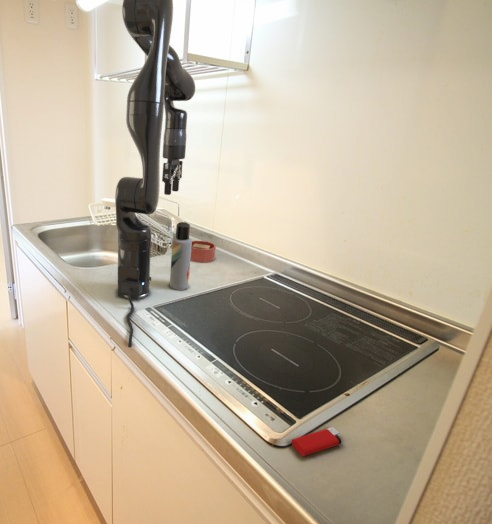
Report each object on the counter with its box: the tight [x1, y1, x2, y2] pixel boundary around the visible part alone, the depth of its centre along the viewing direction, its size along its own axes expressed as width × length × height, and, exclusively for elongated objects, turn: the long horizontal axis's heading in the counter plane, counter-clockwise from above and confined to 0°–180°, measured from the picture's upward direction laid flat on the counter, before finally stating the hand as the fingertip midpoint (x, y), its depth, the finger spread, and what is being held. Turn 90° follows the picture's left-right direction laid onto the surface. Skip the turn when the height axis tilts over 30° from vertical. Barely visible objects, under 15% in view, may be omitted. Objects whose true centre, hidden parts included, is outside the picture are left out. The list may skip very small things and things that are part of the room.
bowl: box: [190, 240, 217, 263], centre depth 136 cm, size 11×11×5 cm
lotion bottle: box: [169, 221, 193, 291], centre depth 108 cm, size 6×6×20 cm
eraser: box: [192, 244, 210, 249], centre depth 136 cm, size 6×4×4 cm, turn 68°
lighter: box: [291, 426, 342, 457], centre depth 57 cm, size 3×1×8 cm
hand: (171, 192), depth 125 cm, fingers open, 8 cm apart
